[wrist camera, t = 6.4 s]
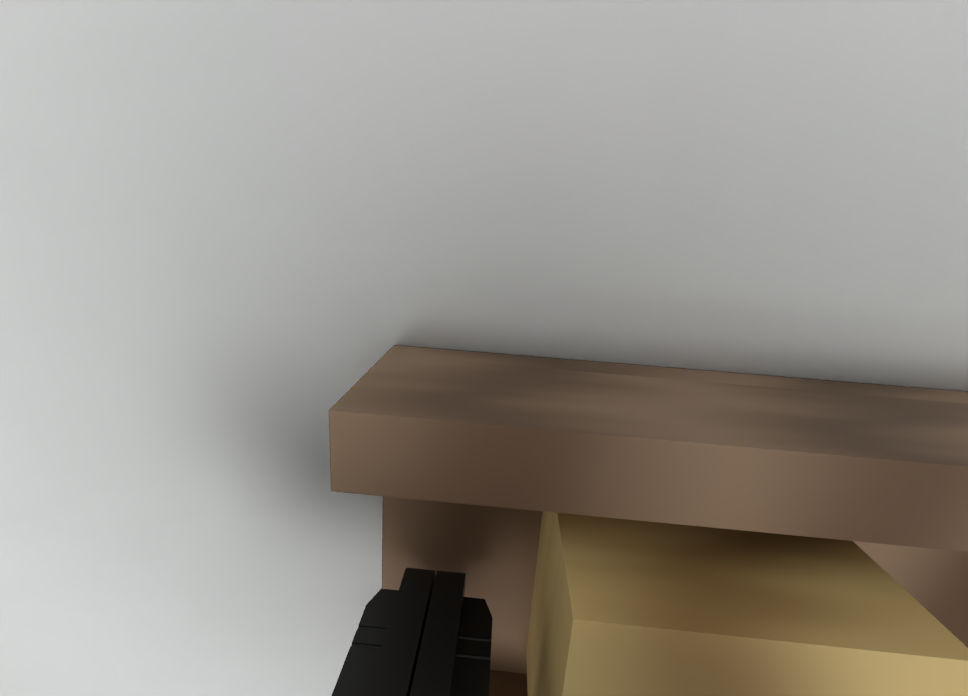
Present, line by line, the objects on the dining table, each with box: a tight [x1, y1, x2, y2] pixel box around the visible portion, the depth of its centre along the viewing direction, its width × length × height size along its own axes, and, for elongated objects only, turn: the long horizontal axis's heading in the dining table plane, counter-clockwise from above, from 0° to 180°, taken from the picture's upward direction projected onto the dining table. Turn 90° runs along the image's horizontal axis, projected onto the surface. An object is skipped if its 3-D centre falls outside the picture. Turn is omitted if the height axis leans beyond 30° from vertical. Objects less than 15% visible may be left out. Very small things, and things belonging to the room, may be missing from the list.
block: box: [526, 511, 968, 696], centre depth 10 cm, size 6×6×5 cm
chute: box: [329, 345, 968, 696], centre depth 11 cm, size 20×11×4 cm, turn 86°
